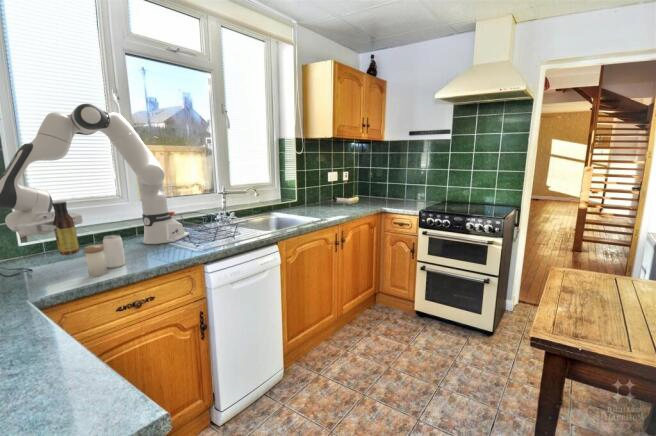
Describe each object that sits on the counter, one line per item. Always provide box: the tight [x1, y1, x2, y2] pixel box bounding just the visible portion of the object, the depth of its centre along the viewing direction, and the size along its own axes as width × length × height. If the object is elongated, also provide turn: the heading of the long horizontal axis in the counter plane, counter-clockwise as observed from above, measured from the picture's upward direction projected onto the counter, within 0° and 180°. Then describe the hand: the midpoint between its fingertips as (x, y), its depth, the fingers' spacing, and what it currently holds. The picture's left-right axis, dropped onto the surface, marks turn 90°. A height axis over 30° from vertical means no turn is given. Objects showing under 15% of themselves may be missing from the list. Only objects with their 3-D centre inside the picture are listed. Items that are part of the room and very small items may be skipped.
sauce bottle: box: [52, 200, 80, 256], centre depth 127 cm, size 7×6×20 cm
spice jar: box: [83, 243, 108, 277], centre depth 126 cm, size 6×6×11 cm
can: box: [102, 234, 126, 269], centre depth 135 cm, size 6×6×12 cm
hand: (65, 225), depth 126 cm, fingers closed on sauce bottle, 6 cm apart
